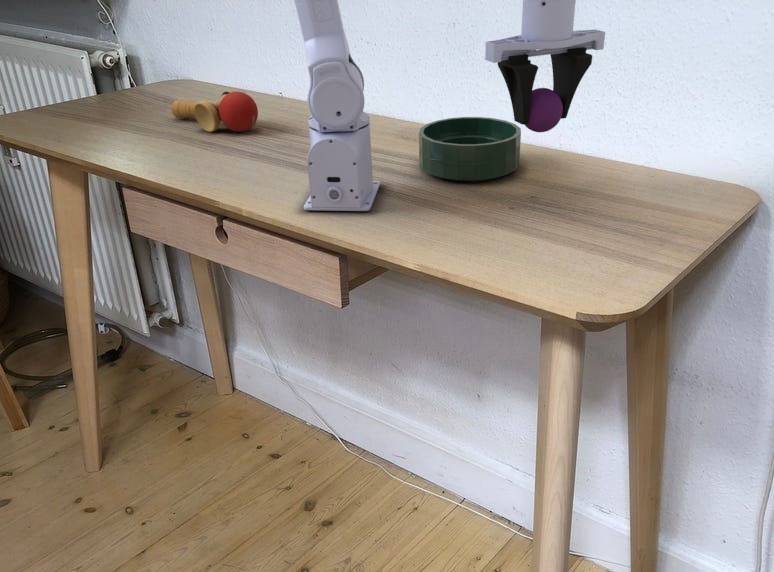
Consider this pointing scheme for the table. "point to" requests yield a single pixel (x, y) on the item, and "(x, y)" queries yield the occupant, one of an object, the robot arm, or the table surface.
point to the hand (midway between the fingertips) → (540, 119)
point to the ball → (544, 110)
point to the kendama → (220, 111)
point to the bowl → (469, 148)
